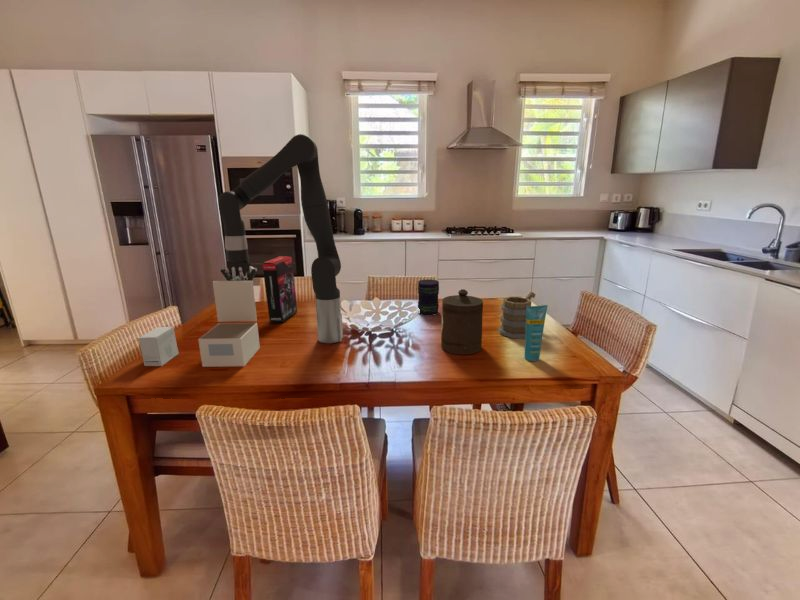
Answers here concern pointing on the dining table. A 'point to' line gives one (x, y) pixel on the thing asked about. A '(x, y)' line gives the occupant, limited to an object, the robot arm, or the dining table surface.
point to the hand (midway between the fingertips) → (241, 293)
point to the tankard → (514, 316)
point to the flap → (235, 300)
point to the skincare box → (158, 346)
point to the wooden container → (461, 324)
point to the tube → (534, 331)
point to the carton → (229, 344)
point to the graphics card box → (280, 288)
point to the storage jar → (428, 296)
